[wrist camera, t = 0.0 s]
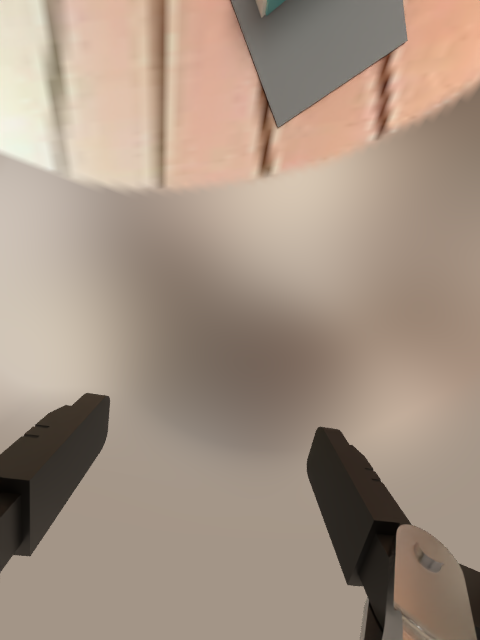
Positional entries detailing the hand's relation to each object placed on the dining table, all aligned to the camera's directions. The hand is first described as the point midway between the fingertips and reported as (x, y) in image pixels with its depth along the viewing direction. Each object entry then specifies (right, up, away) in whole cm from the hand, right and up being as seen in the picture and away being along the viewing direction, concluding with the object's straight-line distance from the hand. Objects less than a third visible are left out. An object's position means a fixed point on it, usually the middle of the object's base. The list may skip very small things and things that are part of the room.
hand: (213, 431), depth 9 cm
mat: (+8, +35, +14) cm, 38 cm away
